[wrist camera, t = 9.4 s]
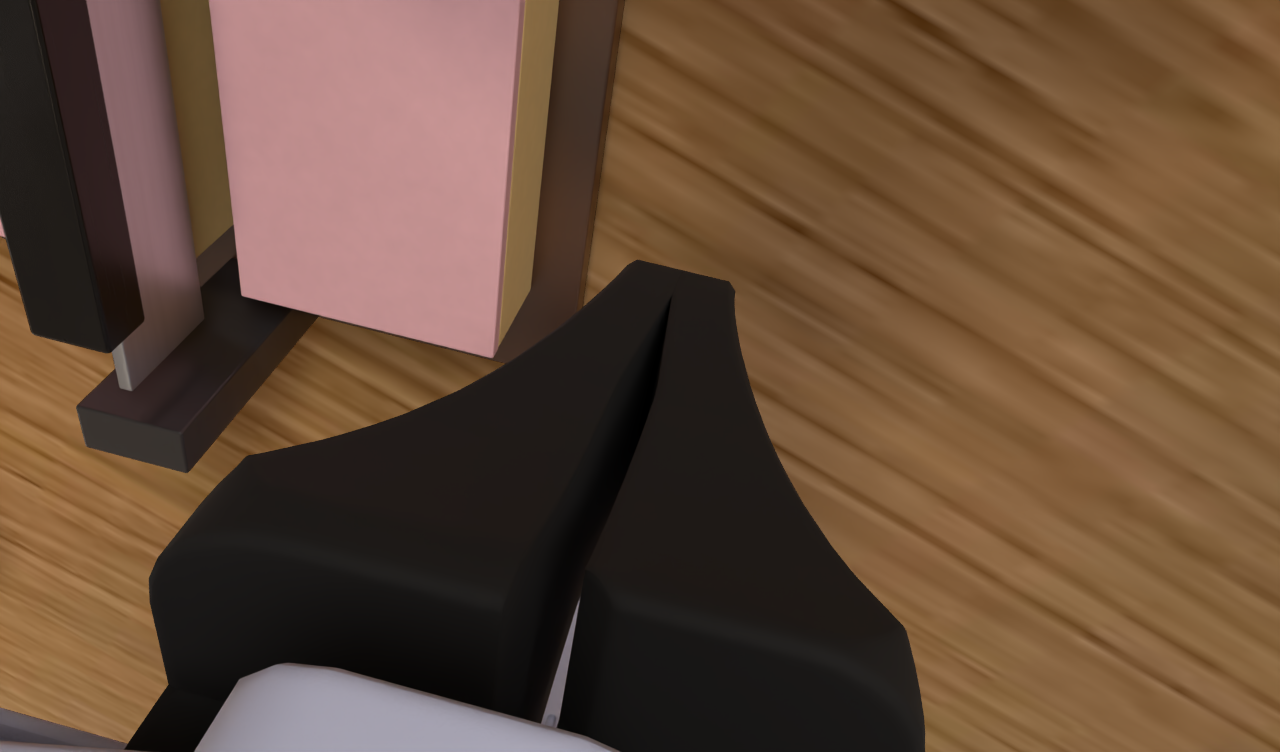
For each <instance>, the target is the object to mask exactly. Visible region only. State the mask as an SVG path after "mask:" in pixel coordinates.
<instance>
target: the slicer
mask: <svg viewBox="0 0 1280 752" xmlns="http://www.w3.org/2000/svg"><path fill="white" fill-rule="evenodd" d="M624 3H625V0H559V7H558V17H557V27H556V37H555V47H554V57H553V68H552V78H551V88H550V98H549V108H548V118H547V128H546V139H545V149H544V159H543V169H542V179H541V189H540V199H539V210H538V220H537V230H536V240H535V250H534V260H533V270H532V281H531V289H530V291H529V293H528V295H527V297H526V298H525V300H524V302H523V304H522V306H521V307H520V309H519V311H518V313H517V315H516V317H515V318H514V320H513V322H512V324H511V326H510V327H509V329H508V331H507V333H506V335H505V336H504V338H503V340H502V342H501V344H500V345H499V347H498V350H497V352H496V353H495V355H494V357H493V358H489V357H485V356H481V355H477V354H473V353H469V352H465V351H461V350H457V349H453V348H449V347H445V346H441V345H436V344H432V343H428V342H424V341H420V340H416V339H412V338H408V337H404V336H400V335H396V334H392V333H388V332H384V331H380V330H376V329H372V328H368V327H364V326H360V325H356V324H352V323H348V322H344V321H340V320H336V319H332V318H328V317H324V316H320V315H316V314H312V313H308V312H304V311H300V310H296V309H292V308H288V307H284V306H280V305H276V304H272V303H268V302H264V301H260V300H256V299H252V298H248V297H244V296H242V295H241V287H240V278H239V269H238V260H237V251H236V242H235V233H234V225H232V226H231V227H230V228H229V229H228V230H227V231H226V232H225V233H224V234H223V235H221V236H220V237H219V238H218V239H217V240H216V241H215V242H214V243H213V244H212V245H210V246H209V247H208V248H207V249H206V250H205V251H204V252H203V253H202V254H201V255H200V256H198V257H197V258H196V262H197V269H198V276H199V283H200V290H201V297H202V305H203V312H204V320H203V321H202V322H201V323H200V324H199V325H198V326H197V327H196V328H195V329H194V330H193V331H192V332H191V333H190V334H189V335H188V336H187V337H186V338H185V339H184V340H183V341H182V342H181V343H180V344H179V345H178V346H177V347H176V348H175V349H174V350H173V351H172V352H171V353H170V354H169V355H168V356H167V357H166V358H165V359H164V360H163V361H162V362H161V363H160V364H159V365H158V366H157V367H156V368H155V369H154V370H153V371H152V372H151V373H150V374H149V375H148V376H147V377H146V378H145V379H144V380H143V381H142V382H141V383H140V384H139V385H138V386H137V387H136V388H135V389H134V390H133V391H129V390H125V389H121V388H120V387H119V383H118V378H117V373H116V369H114V370H113V371H112V372H111V373H110V374H109V375H108V376H107V377H106V378H105V379H104V380H103V381H102V382H101V383H100V384H99V385H98V386H97V387H96V388H95V389H93V390H92V391H91V392H90V393H89V394H88V395H87V396H86V397H85V398H84V399H83V400H82V401H81V402H80V403H79V404H78V405H77V407H76V409H77V413H78V417H79V421H80V425H81V429H82V433H83V437H84V440H85V444H86V446H87V447H89V448H93V449H97V450H100V451H104V452H108V453H112V454H116V455H119V456H123V457H127V458H131V459H135V460H138V461H142V462H146V463H150V464H154V465H157V466H161V467H165V468H169V469H173V470H176V471H180V472H184V473H188V472H189V471H190V470H191V469H192V468H193V467H194V465H195V464H196V463H197V462H198V461H199V459H200V458H201V457H202V456H203V455H204V453H205V452H206V451H207V450H208V449H209V447H210V446H211V445H212V444H213V443H214V441H215V440H216V439H217V438H218V437H219V435H220V434H221V433H222V432H223V431H224V429H225V428H226V427H227V426H228V425H229V423H230V422H231V421H232V420H233V419H234V417H235V416H236V415H237V414H238V413H239V411H240V410H241V409H242V408H243V407H244V405H245V404H246V403H247V402H248V401H249V399H250V398H251V397H252V396H253V395H254V393H255V392H256V391H257V390H258V389H259V387H260V386H261V385H262V384H263V383H264V381H265V380H266V379H267V378H268V377H269V375H270V374H271V373H272V372H273V371H274V369H275V368H276V367H277V366H278V365H279V363H280V362H281V361H282V360H283V359H284V357H285V356H286V355H287V354H288V353H289V351H290V350H291V349H292V348H293V347H294V345H295V344H296V343H297V342H298V341H299V339H300V338H301V337H302V336H303V335H304V333H305V332H306V331H307V330H308V329H309V327H310V326H311V325H312V324H313V323H314V321H315V320H316V319H317V318H318V317H321V318H325V319H329V320H333V321H337V322H341V323H345V324H349V325H353V326H357V327H361V328H365V329H369V330H373V331H377V332H381V333H385V334H389V335H393V336H397V337H401V338H405V339H409V340H413V341H417V342H421V343H425V344H429V345H433V346H437V347H441V348H445V349H449V350H453V351H457V352H461V353H465V354H469V355H473V356H477V357H481V358H485V359H489V360H493V361H497V362H501V363H508V362H509V361H511V360H513V359H514V358H516V357H517V356H519V355H520V354H521V353H523V352H524V351H526V350H527V349H529V348H530V347H531V346H533V345H534V344H536V343H537V342H539V341H540V340H541V339H543V338H544V337H546V336H547V335H549V334H550V333H551V332H553V331H554V330H555V329H557V328H558V327H559V326H560V325H562V324H563V323H564V322H565V321H567V320H568V319H569V318H570V317H571V316H573V315H574V314H575V313H576V312H578V311H579V310H580V309H581V308H582V307H583V300H584V293H585V286H586V278H587V271H588V264H589V257H590V249H591V242H592V235H593V228H594V220H595V213H596V206H597V199H598V191H599V184H600V177H601V170H602V162H603V155H604V148H605V141H606V133H607V126H608V119H609V112H610V104H611V97H612V90H613V83H614V75H615V68H616V61H617V54H618V46H619V39H620V32H621V25H622V17H623V10H624ZM1 237H2V238H4V239H6V238H5V237H3V236H1Z"/></svg>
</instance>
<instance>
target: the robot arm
mask: <svg viewBox="0 0 1280 752" xmlns="http://www.w3.org/2000/svg"><path fill="white" fill-rule="evenodd" d="M734 298H735V290H734V289H733V287H732V285H731V284H730V282H729V281H725V280H720V279H716V278H712V277H708V276H704V275H699V274H695V273H691V272H687V271H683V270H679V269H674V268H670V267H666V266H662V265H658V264H653V263H649V262H645V261H641V260H636V261H634V262H632V263H630V264H629V265H627V266H626V267H625V268H624V269H623V270H622V271H621V273H620V274H619V275H618V276H617V277H616V278H615V279H614V280H613V281H611V282H610V283H609V284H608V285H607V286H606V287H605V288H604V289H603V290H602V291H601V292H600V293H599V294H597V295H596V296H595V297H594V298H593V299H592V300H591V301H590V302H588V303H587V304H586V305H585V306H584V307H583V308H581V309H580V310H579V311H578V312H576V313H575V314H574V315H573V316H571V317H570V318H569V319H568V320H567V321H565V322H564V323H563V324H562V325H560V326H559V327H558V328H557V329H555V330H554V331H553V332H551V333H550V334H549V335H547V336H546V337H544V338H543V339H541V340H540V341H539V342H537V343H536V344H534V345H533V346H531V347H530V348H529V349H527V350H526V351H524V352H523V353H521V354H520V355H519V356H517V357H516V358H514V359H513V360H511V361H509V362H508V363H506V364H505V365H503V366H501V367H500V368H498V369H496V370H495V371H493V372H491V373H490V374H488V375H486V376H484V377H483V378H481V379H479V380H477V381H475V382H473V383H472V384H470V385H468V386H466V387H464V388H462V389H460V390H458V391H456V392H454V393H452V394H450V395H448V396H445V397H443V398H441V399H438V400H436V401H434V402H431V403H429V404H427V405H424V406H422V407H420V408H417V409H415V410H413V411H410V412H408V413H406V414H403V415H400V416H398V417H395V418H392V419H389V420H386V421H383V422H380V423H377V424H374V425H371V426H368V427H365V428H362V429H358V430H355V431H352V432H348V433H345V434H342V435H338V436H334V437H331V438H327V439H323V440H319V441H315V442H310V443H306V444H301V445H297V446H292V447H288V448H283V449H278V450H274V451H269V452H265V453H260V454H254V455H249V456H246V457H245V458H244V459H243V460H242V461H241V462H240V464H239V465H238V466H237V467H236V468H235V469H234V470H233V471H232V472H231V473H230V474H228V475H227V476H226V477H225V478H224V479H223V480H222V481H221V482H220V483H219V484H218V485H217V486H216V487H215V488H214V489H213V491H212V492H211V493H210V494H209V495H208V496H207V497H206V498H205V499H204V500H203V502H202V503H201V504H200V505H199V506H198V508H197V509H196V510H195V512H194V513H193V514H192V515H191V517H190V518H189V519H188V520H187V522H186V523H185V524H184V525H183V527H182V528H181V529H180V531H179V532H178V533H177V534H176V536H175V537H174V538H173V539H172V541H171V542H170V543H169V544H168V546H167V547H166V548H165V549H164V551H163V552H162V553H161V555H160V556H159V557H158V559H157V561H156V563H155V565H154V568H153V570H152V572H151V575H150V577H149V595H150V605H151V609H152V614H153V618H154V623H155V627H156V631H157V636H158V640H159V645H160V649H161V653H162V658H163V662H164V666H165V671H166V675H167V680H168V684H169V685H168V686H167V688H166V689H165V690H164V692H163V693H162V695H161V696H160V698H159V699H158V701H157V702H156V704H155V705H154V706H153V708H152V709H151V711H150V712H149V714H148V715H147V717H146V718H145V720H144V721H143V722H142V724H141V725H140V727H139V728H138V730H137V731H136V733H135V734H134V736H133V737H132V738H131V740H130V741H129V743H128V744H126V743H123V742H119V741H116V740H112V739H109V738H105V737H102V736H98V735H95V734H91V733H88V732H84V731H81V730H77V729H74V728H70V727H67V726H63V725H60V724H56V723H53V722H49V721H46V720H42V719H38V718H35V717H31V716H28V715H24V714H21V713H17V712H14V711H10V710H7V709H3V708H0V752H925V725H924V715H923V708H922V701H921V695H920V689H919V684H918V678H917V673H916V668H915V664H914V660H913V655H912V651H911V647H910V643H909V639H908V636H907V632H906V630H905V628H904V627H903V625H902V624H901V623H900V622H899V621H898V620H897V619H896V618H895V617H894V616H893V615H892V614H891V613H890V612H889V611H888V610H887V608H886V607H885V606H884V605H883V604H882V603H881V602H880V601H879V600H878V599H877V598H876V597H875V596H874V595H873V594H872V593H871V592H870V591H869V590H868V589H867V588H866V586H865V585H864V584H863V583H862V582H861V581H860V580H859V579H858V578H857V577H856V576H855V575H854V573H853V572H852V571H851V570H850V569H849V567H848V566H847V565H846V564H845V562H844V561H843V560H842V559H841V557H840V556H839V555H838V554H837V552H836V551H835V550H834V549H833V547H832V546H831V544H830V543H829V541H828V540H827V538H826V537H825V535H824V534H823V533H822V531H821V530H820V528H819V527H818V525H817V524H816V522H815V521H814V519H813V518H812V516H811V515H810V513H809V512H808V510H807V509H806V507H805V506H804V504H803V502H802V501H801V499H800V497H799V496H798V494H797V492H796V490H795V488H794V487H793V485H792V483H791V481H790V479H789V478H788V476H787V474H786V472H785V470H784V468H783V466H782V464H781V462H780V460H779V458H778V456H777V454H776V452H775V449H774V447H773V445H772V443H771V440H770V438H769V436H768V433H767V431H766V428H765V426H764V423H763V421H762V418H761V415H760V413H759V410H758V407H757V404H756V402H755V399H754V395H753V392H752V389H751V386H750V383H749V379H748V375H747V372H746V368H745V364H744V361H743V357H742V353H741V348H740V344H739V338H738V332H737V326H736V319H735V307H734Z"/></svg>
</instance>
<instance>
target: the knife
mask: <svg viewBox="0 0 1280 752" xmlns="http://www.w3.org/2000/svg"><path fill="white" fill-rule="evenodd" d="M0 219H1V223H2V227H3V230H4V234H5V238H6V242H7V245H8V249H9V253H10V256H11V260H12V264H13V267H14V271H15V275H16V278H17V282H18V286H19V290H20V293H21V297H22V301H23V304H24V308H25V312H26V315H27V319H28V323H29V326H30V330H31V332H32V334H34V335H36V336H40V337H44V338H48V339H52V340H56V341H60V342H64V343H67V344H71V345H75V346H79V347H83V348H87V349H91V350H95V351H99V352H103V353H111V352H112V355H113V359H114V364H115V369H116V373H117V378H118V383H119V387H120V388H121V389H125V390H129V391H133V390H134V389H135V388H136V387H137V386H138V385H139V384H140V383H141V382H142V381H143V380H144V379H145V378H146V377H147V376H148V375H149V374H150V373H151V372H152V371H153V370H154V369H155V368H156V367H157V366H158V365H159V364H160V363H161V362H162V361H163V360H164V359H165V358H166V357H167V356H168V355H169V354H170V353H171V352H172V351H173V350H174V349H175V348H176V347H177V346H178V345H179V344H180V343H181V342H182V341H183V340H184V339H185V338H186V337H187V336H188V335H189V334H190V333H191V332H192V331H193V330H194V329H195V328H196V327H197V326H198V325H199V324H200V323H201V322H202V321H203V320H204V312H203V305H202V297H201V290H200V283H199V276H198V269H197V262H196V255H195V248H194V240H193V233H192V226H191V219H190V212H189V205H188V198H187V190H186V183H185V176H184V169H183V162H182V155H181V148H180V140H179V133H178V126H177V119H176V112H175V105H174V98H173V91H172V83H171V76H170V69H169V62H168V55H167V48H166V41H165V33H164V26H163V19H162V12H161V5H160V0H0Z"/></svg>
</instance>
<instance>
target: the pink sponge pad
mask: <svg viewBox="0 0 1280 752" xmlns="http://www.w3.org/2000/svg"><path fill="white" fill-rule="evenodd" d="M160 5H161V12H162V19H163V26H164V33H165V41H166V48H167V55H168V62H169V69H170V76H171V83H172V91H173V98H174V105H175V112H176V119H177V126H178V133H179V140H180V148H181V155H182V162H183V169H184V176H185V183H186V190H187V198H188V205H189V212H190V219H191V226H192V233H193V240H194V248H195V255H196V258H197V257H198V256H200V255H201V254H202V253H203V252H204V251H205V250H206V249H207V248H208V247H209V246H210V245H212V244H213V243H214V242H215V241H216V240H217V239H218V238H219V237H220V236H221V235H223V234H224V233H225V232H226V231H227V230H228V229H229V228H230V227H231V226H232V225H234V233H235V242H236V251H237V260H238V269H239V278H240V287H241V295H242V296H244V297H248V298H252V299H256V300H260V301H264V302H268V303H272V304H276V305H280V306H284V307H288V308H292V309H296V310H300V311H304V312H308V313H312V314H316V315H320V316H324V317H328V318H332V319H336V320H340V321H344V322H348V323H352V324H356V325H360V326H364V327H368V328H372V329H376V330H380V331H384V332H388V333H392V334H396V335H400V336H404V337H408V338H412V339H416V340H420V341H424V342H428V343H432V344H436V345H441V346H445V347H449V348H453V349H457V350H461V351H465V352H469V353H473V354H477V355H481V356H485V357H489V358H493V357H494V355H495V353H496V352H497V350H498V347H499V345H500V344H501V342H502V340H503V338H504V336H505V335H506V333H507V331H508V329H509V327H510V326H511V324H512V322H513V320H514V318H515V317H516V315H517V313H518V311H519V309H520V307H521V306H522V304H523V302H524V300H525V298H526V297H527V295H528V293H529V291H530V289H531V281H532V270H533V260H534V250H535V240H536V230H537V220H538V210H539V199H540V189H541V179H542V169H543V159H544V149H545V139H546V128H547V118H548V108H549V98H550V88H551V78H552V68H553V57H554V47H555V37H556V27H557V17H558V7H559V0H160ZM0 236H3V237H5V234H4V230H3V227H2V223H1V219H0Z"/></svg>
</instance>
